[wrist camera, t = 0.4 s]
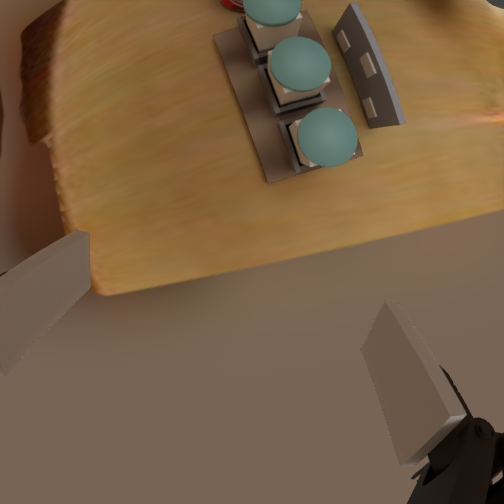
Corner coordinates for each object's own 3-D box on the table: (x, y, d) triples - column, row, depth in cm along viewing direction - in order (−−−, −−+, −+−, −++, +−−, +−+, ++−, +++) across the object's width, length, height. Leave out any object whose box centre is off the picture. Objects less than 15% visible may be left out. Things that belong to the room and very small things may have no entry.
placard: (330, 31, 28) (347, 3, 19) (337, 30, 28) (356, 2, 19) (368, 129, 32) (397, 125, 24) (375, 127, 32) (406, 123, 24)
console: (215, 41, 29) (206, 23, 24) (304, 16, 27) (311, -4, 22) (268, 182, 35) (269, 188, 30) (358, 155, 34) (375, 157, 28)
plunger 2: (282, 125, 29) (289, 116, 21) (324, 113, 28) (346, 101, 20) (297, 166, 30) (309, 174, 22) (338, 155, 30) (364, 158, 21)
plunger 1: (242, 25, 25) (235, -12, 16) (283, 15, 24) (288, -24, 16) (257, 59, 26) (254, 28, 18) (298, 48, 26) (310, 15, 17)
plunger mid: (262, 72, 27) (261, 45, 18) (304, 61, 26) (317, 31, 18) (277, 111, 28) (282, 96, 20) (319, 99, 28) (339, 82, 19)
